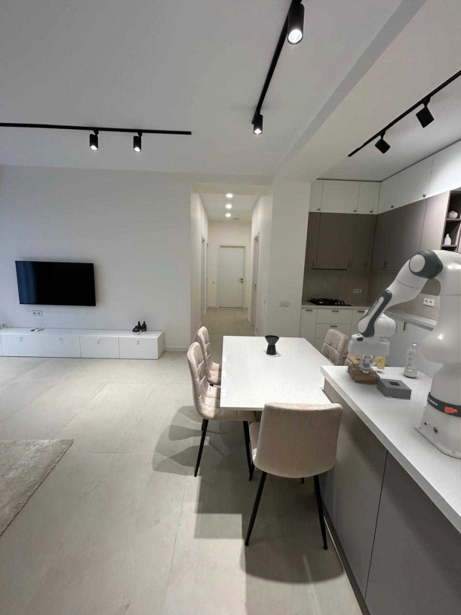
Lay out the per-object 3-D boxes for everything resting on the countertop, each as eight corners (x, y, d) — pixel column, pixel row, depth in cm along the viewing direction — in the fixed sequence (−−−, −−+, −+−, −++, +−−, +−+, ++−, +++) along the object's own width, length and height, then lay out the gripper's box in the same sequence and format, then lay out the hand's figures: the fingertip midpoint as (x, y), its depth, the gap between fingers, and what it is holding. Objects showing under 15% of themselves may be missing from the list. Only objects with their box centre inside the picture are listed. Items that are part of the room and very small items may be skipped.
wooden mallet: (390, 375, 146) (391, 363, 145) (354, 371, 149) (356, 360, 148) (382, 367, 157) (383, 356, 156) (349, 364, 160) (350, 353, 159)
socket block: (379, 385, 138) (380, 374, 137) (355, 382, 140) (356, 371, 139) (368, 373, 154) (370, 363, 153) (347, 371, 156) (348, 361, 155)
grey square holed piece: (410, 399, 124) (411, 390, 124) (385, 396, 126) (386, 387, 126) (399, 388, 135) (401, 380, 134) (377, 386, 137) (378, 377, 136)
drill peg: (371, 379, 140) (374, 358, 139) (361, 378, 141) (363, 357, 140) (368, 375, 146) (370, 355, 144) (358, 374, 146) (360, 354, 145)
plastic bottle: (419, 379, 149) (425, 345, 145) (407, 378, 149) (413, 345, 145) (411, 374, 155) (417, 342, 152) (400, 373, 155) (405, 341, 152)
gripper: (388, 338, 141) (384, 362, 143) (348, 334, 145) (345, 358, 147) (393, 341, 135) (389, 366, 137) (351, 337, 139) (348, 362, 141)
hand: (366, 362), depth 142 cm, fingers closed on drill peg, 3 cm apart
